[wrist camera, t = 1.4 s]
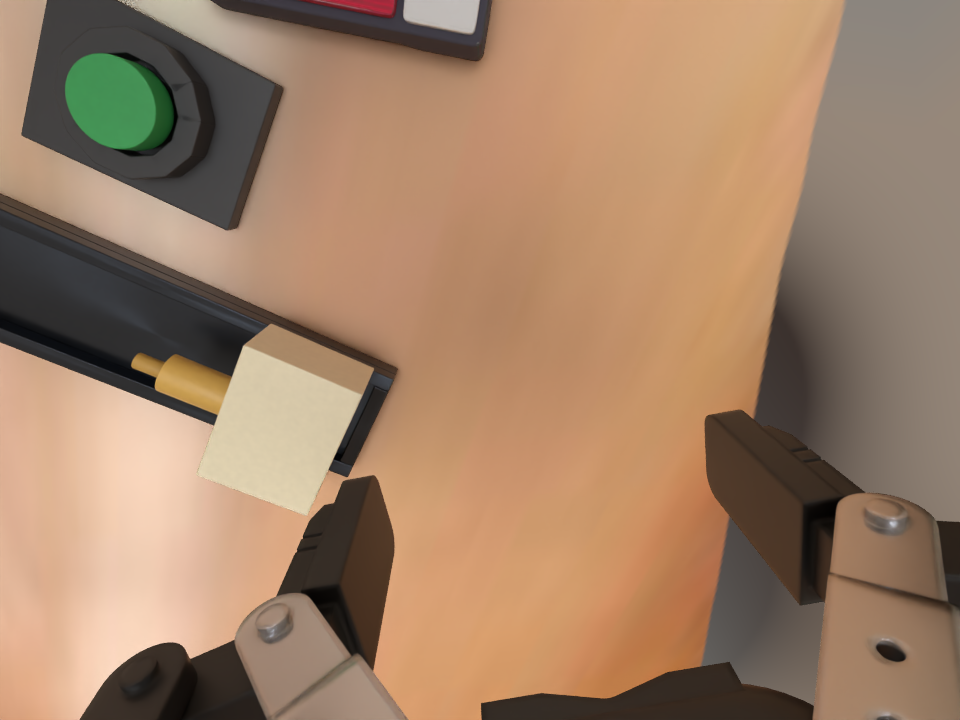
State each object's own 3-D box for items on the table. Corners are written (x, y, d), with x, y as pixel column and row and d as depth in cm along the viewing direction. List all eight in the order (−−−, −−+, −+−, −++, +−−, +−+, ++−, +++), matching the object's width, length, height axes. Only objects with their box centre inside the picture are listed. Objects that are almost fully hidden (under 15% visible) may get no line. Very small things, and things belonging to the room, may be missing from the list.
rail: (-81, 289, 33) (-117, 297, 31) (-63, 166, 31) (-100, 165, 29) (353, 461, 39) (347, 477, 37) (397, 368, 36) (394, 379, 34)
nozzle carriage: (151, 398, 35) (95, 439, 30) (189, 278, 32) (135, 299, 27) (328, 467, 37) (306, 516, 32) (377, 361, 35) (362, 395, 29)
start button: (81, 126, 28) (56, 123, 26) (99, 43, 27) (74, 34, 25) (162, 165, 29) (143, 164, 27) (184, 86, 27) (165, 80, 26)
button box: (39, 137, 31) (-7, 133, 28) (71, -24, 28) (24, -48, 25) (236, 228, 33) (214, 234, 30) (284, 87, 30) (264, 78, 27)
